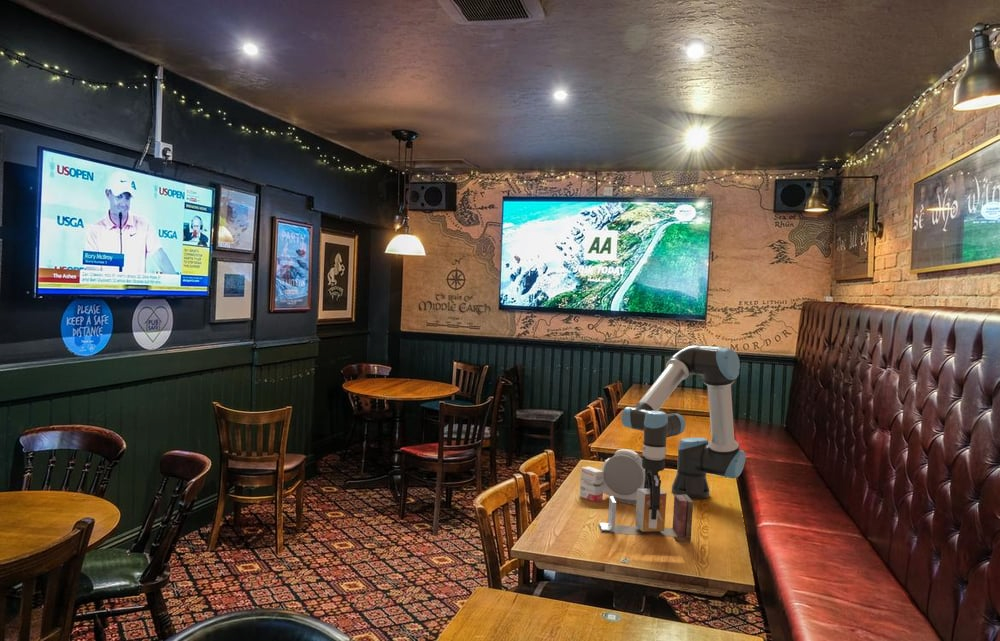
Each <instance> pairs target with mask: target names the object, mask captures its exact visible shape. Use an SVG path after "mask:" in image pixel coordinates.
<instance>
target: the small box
mask: <svg viewBox="0 0 1000 641" xmlns="http://www.w3.org/2000/svg"><path fill="white" fill-rule="evenodd" d="M667 495H668V494H667V493H666V492H665V491H663V490H662V489H661V488H660V510H658V516H657V529H654V528H648V522H649V509H648V508H650V489H648V488H645V489H637V502H636V506H635V522H634V523H635V524H634V526H637V527H638V528H639V529H640V530H641V531H642V532H646V531H664V528H665V526H666V525H665V524H666V523H665V522H666V508H667Z"/></svg>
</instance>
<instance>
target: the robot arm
mask: <svg viewBox="0 0 1000 641" xmlns="http://www.w3.org/2000/svg"><path fill="white" fill-rule="evenodd" d="M740 369H741V363H740V357H739V356H738V354H737V352H736V351H735V350H734V349H732V348H727V347H724V346H709V345H700V344H694V345H693V344H692V345H689V346H687V347H684V348H682V349H680V350H679V351H677V352H675V353H674V354H673V355H671V357H670V358H669V360H667V362H666V363H665V368H664V370H663V371H662V372H661V374H660V375H659V376H658V377H657V379H655V381H654V382H653V384H652V385H651V386H650V387H649V389H648V390H647V391H645V394H644V395H643V396H642V397H641V399H640V400H639V401H638V402H637V403H636V405H635V406H627V407H625V408H624V409H623V410H622V412H621V418H620V420H621V424H622V425H623V426H624V427H626V428H628V429H632V430H636V431H642V432H643V443H642V444H643V446H641V450H642V457H641V458H642V467H643V468H644V469H645V481H644V489H645V488H648V489H650V508H648V509H649V522H648V528H654V529H657V516H658V510H660V489H661V484H662V479H661V476H660V475H659V472H663V471H664V470H665V467H666V459H665V458H666V454H667V453H666V452H667V438H670V437H676V436H678V435H680V434H682V433H684V431H685V429H686V420H685V418H684V417H683V416H682V415H681V414H680V413H673V412H671V413H666V412H665V411H661V410H660V409H661V408H662V407H663V405H664V404H665V403H666V401H667V400H668V398H669V397H670V396H671V395H672V393H673V392H674V391H675V390H676V388H678V386H679V385H680V383H681V382H682V381H683V380H686V379H687V378H688V377H689V376H691V375H692V376H693V375H697V376H702V382H703V384H704V385H706V386H707V396H708V409H709V411H708V412H709V421H710V423H709V424H710V436H711V439H710V440H708V438H705V437H685V438H682V439H680V440H679V442H678V448H677V464H676V465H677V467H676V468H677V469H676V474H675V477H674V480H673V482H672V485H671V493H672V494H674V495H682V494H685V495H688V497H689V498H690V499H691V500H692V499H693V500H694V499H695V500H703V499H704V500H705V499H708V498H709V497H710V486H709V483H708V479H707V474H710V475H711V474H712V475H716V476H720V477H724V478H728V479H737V478H739V477H740V475H741V474H742V472H743V470H744V467H745V464H746V457H747V456H746V453H745V451H744V450H742V449H740V446H739V442H738V441H737V440H736V439H735V430H734V429H735V428H734V415H733V414H734V412H733V400H732V398H733V396H732V385H733V384H734V383H735V380H736V379H737V378H738V377H739V375H740Z"/></svg>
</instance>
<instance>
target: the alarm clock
mask: <svg viewBox="0 0 1000 641" xmlns="http://www.w3.org/2000/svg"><path fill="white" fill-rule="evenodd" d="M642 458H643V457H641V456H640V455H639V453H637V452H636V451H634V450H632V449H626V448H622V449H618V450H616V451H615V453H614V455H613V456H611V457H608V458H607V459H605V460H604V462H603V463H602V465H601V469H600V470H601V471H604V478H603V495H607V496H609V497H610V496H613V497H614V499H615V501H616V503H623V504H626V505H628V504H629V505H633V506H635V505H636V502H637V489H644V481H645V469H644V468H643V467H642ZM609 497H608V498H609Z"/></svg>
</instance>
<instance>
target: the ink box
mask: <svg viewBox="0 0 1000 641" xmlns="http://www.w3.org/2000/svg"><path fill="white" fill-rule="evenodd" d="M601 470H602V469H598V468H595V467H592V466H582V467H581V468H580V483H579V497H580V498H583V499H586V500H588V501H591V502H594V503H596V502H600V501H603V497H604V496H603V495H604V493H603V478H604V471H601Z"/></svg>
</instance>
